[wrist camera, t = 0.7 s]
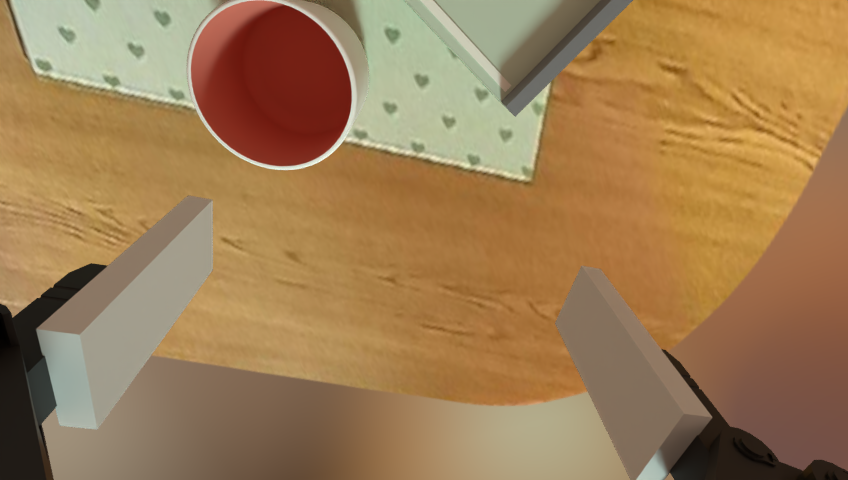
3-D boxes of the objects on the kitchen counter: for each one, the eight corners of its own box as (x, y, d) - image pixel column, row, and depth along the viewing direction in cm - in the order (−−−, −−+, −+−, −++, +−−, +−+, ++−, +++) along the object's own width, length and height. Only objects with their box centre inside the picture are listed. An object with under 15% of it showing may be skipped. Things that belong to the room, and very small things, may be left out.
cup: (227, 10, 33) (157, 7, 24) (357, -8, 32) (337, -19, 23) (265, 141, 37) (219, 179, 28) (380, 126, 37) (370, 160, 28)
